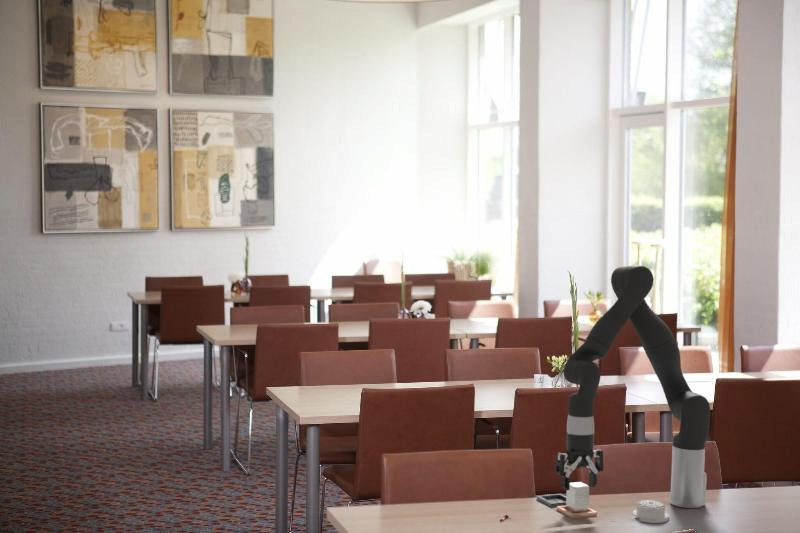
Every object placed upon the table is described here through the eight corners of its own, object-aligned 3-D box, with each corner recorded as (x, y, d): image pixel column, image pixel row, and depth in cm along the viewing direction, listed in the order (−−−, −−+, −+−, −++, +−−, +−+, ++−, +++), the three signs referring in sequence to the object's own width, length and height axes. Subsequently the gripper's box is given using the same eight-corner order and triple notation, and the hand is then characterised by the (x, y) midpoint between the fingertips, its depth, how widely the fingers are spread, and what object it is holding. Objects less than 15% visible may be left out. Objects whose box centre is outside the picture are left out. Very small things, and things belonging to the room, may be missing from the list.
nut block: (579, 509, 289) (580, 481, 289) (588, 514, 285) (589, 486, 285) (565, 511, 287) (566, 483, 287) (574, 515, 283) (575, 487, 283)
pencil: (499, 522, 280) (499, 519, 280) (518, 504, 297) (518, 502, 297) (502, 522, 279) (502, 519, 279) (521, 505, 297) (521, 502, 297)
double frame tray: (561, 500, 302) (561, 493, 302) (600, 519, 283) (600, 512, 283) (535, 502, 298) (535, 496, 298) (572, 523, 280) (572, 515, 280)
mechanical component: (632, 522, 283) (669, 525, 281) (633, 506, 283) (670, 509, 281) (632, 512, 293) (667, 515, 291) (632, 497, 292) (668, 499, 290)
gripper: (594, 426, 291) (592, 482, 292) (551, 430, 285) (550, 487, 286) (609, 431, 284) (608, 489, 285) (565, 435, 278) (564, 494, 279)
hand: (579, 488), depth 286 cm, fingers open, 8 cm apart
